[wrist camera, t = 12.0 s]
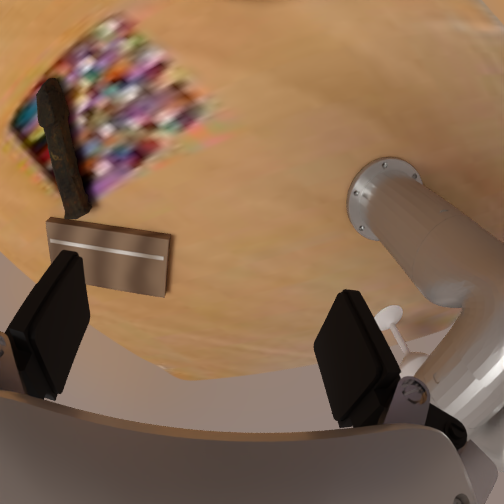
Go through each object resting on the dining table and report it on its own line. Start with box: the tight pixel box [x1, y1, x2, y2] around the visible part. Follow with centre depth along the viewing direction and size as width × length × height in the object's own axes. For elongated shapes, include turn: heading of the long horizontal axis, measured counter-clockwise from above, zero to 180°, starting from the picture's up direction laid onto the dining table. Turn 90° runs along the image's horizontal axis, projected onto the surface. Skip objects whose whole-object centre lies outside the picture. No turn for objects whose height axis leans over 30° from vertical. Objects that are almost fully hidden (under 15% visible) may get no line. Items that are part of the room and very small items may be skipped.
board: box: [46, 217, 170, 298], centre depth 40 cm, size 19×10×2 cm, turn 78°
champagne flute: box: [374, 305, 429, 378], centre depth 43 cm, size 7×7×24 cm
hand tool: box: [36, 78, 92, 219], centre depth 30 cm, size 19×4×5 cm, turn 2°
